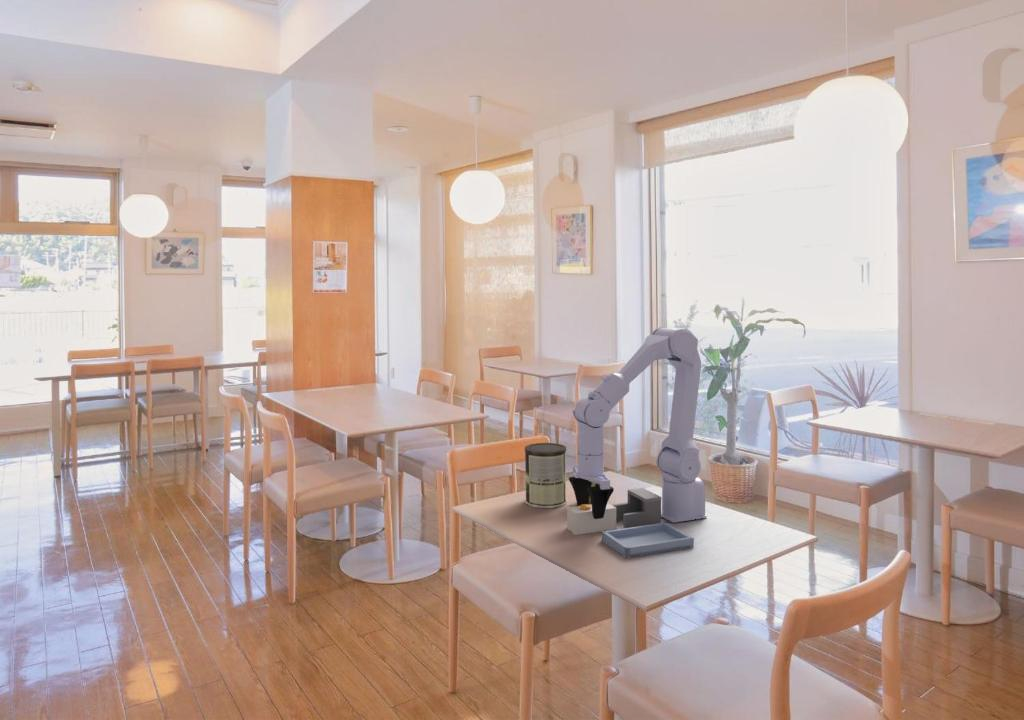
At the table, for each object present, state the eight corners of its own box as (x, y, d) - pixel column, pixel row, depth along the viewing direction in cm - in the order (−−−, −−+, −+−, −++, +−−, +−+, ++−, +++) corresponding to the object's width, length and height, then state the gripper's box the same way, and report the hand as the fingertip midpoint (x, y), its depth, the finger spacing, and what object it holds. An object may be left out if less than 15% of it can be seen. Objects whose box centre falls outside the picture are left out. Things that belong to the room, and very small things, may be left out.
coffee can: (517, 501, 182) (516, 446, 180) (550, 494, 187) (550, 440, 186) (540, 511, 173) (540, 453, 172) (574, 504, 178) (574, 448, 177)
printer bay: (642, 515, 169) (642, 487, 168) (661, 525, 162) (661, 497, 161) (608, 519, 166) (608, 492, 165) (625, 530, 159) (625, 501, 158)
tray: (665, 531, 158) (665, 522, 158) (693, 547, 148) (693, 537, 148) (601, 540, 152) (601, 531, 152) (626, 558, 143) (626, 548, 142)
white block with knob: (607, 523, 164) (607, 499, 163) (616, 529, 160) (616, 505, 159) (566, 529, 160) (566, 504, 160) (575, 535, 156) (575, 510, 156)
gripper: (560, 447, 164) (560, 505, 165) (589, 461, 150) (588, 525, 151) (588, 445, 166) (588, 502, 167) (619, 458, 153) (618, 521, 154)
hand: (590, 513), depth 160 cm, fingers open, 7 cm apart
